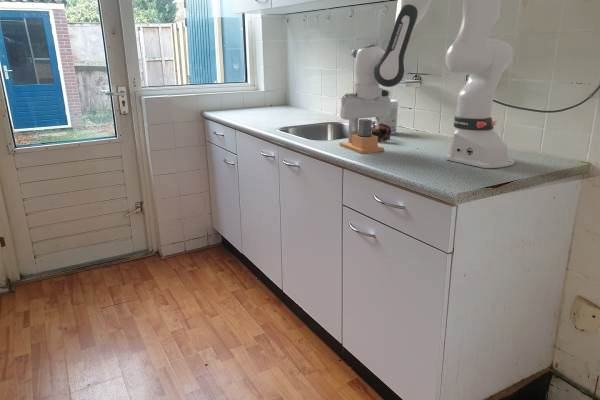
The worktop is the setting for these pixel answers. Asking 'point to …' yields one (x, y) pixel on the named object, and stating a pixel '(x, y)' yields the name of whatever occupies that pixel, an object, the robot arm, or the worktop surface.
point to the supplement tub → (391, 117)
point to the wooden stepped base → (361, 142)
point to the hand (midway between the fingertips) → (365, 129)
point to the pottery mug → (382, 132)
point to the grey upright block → (365, 128)
